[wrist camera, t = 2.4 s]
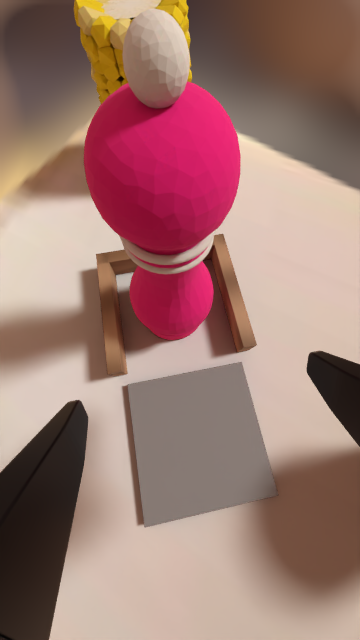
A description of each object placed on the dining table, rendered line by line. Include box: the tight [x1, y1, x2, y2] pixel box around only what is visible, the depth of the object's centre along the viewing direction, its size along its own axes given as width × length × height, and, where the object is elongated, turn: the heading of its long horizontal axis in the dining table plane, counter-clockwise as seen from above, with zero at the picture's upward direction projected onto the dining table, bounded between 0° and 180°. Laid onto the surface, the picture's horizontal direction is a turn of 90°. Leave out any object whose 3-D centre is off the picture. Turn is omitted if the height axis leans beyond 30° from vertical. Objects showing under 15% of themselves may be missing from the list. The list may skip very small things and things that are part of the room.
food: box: [74, 0, 192, 104], centre depth 24 cm, size 15×12×10 cm
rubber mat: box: [128, 362, 278, 527], centre depth 20 cm, size 11×11×1 cm
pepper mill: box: [84, 8, 240, 340], centre depth 15 cm, size 7×7×20 cm
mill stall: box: [96, 234, 257, 376], centre depth 23 cm, size 12×13×2 cm
